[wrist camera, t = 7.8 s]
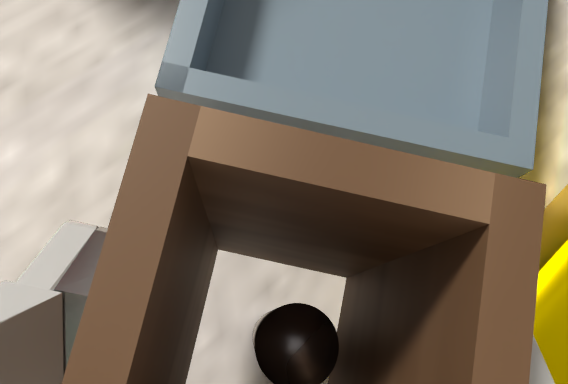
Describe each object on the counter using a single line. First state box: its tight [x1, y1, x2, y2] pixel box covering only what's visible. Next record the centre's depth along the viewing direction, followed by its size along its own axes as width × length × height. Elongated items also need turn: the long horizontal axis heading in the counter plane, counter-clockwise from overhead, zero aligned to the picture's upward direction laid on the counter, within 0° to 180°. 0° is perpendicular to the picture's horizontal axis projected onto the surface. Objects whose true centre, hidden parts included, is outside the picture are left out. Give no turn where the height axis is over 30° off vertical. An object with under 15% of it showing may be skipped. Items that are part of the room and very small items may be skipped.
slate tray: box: [155, 0, 548, 178], centre depth 18 cm, size 11×10×3 cm
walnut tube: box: [62, 94, 546, 384], centre depth 9 cm, size 5×5×8 cm
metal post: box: [253, 303, 339, 384], centre depth 13 cm, size 2×2×6 cm
